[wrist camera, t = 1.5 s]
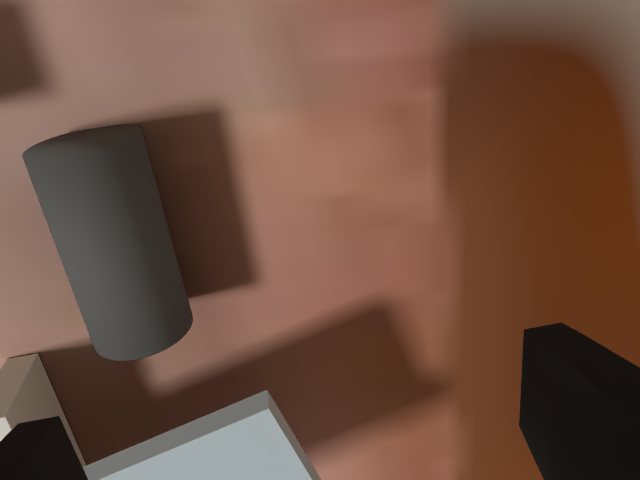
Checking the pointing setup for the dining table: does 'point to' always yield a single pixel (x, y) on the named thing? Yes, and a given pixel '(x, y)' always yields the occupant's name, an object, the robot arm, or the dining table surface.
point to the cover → (216, 449)
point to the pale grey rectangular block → (28, 396)
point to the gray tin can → (112, 238)
